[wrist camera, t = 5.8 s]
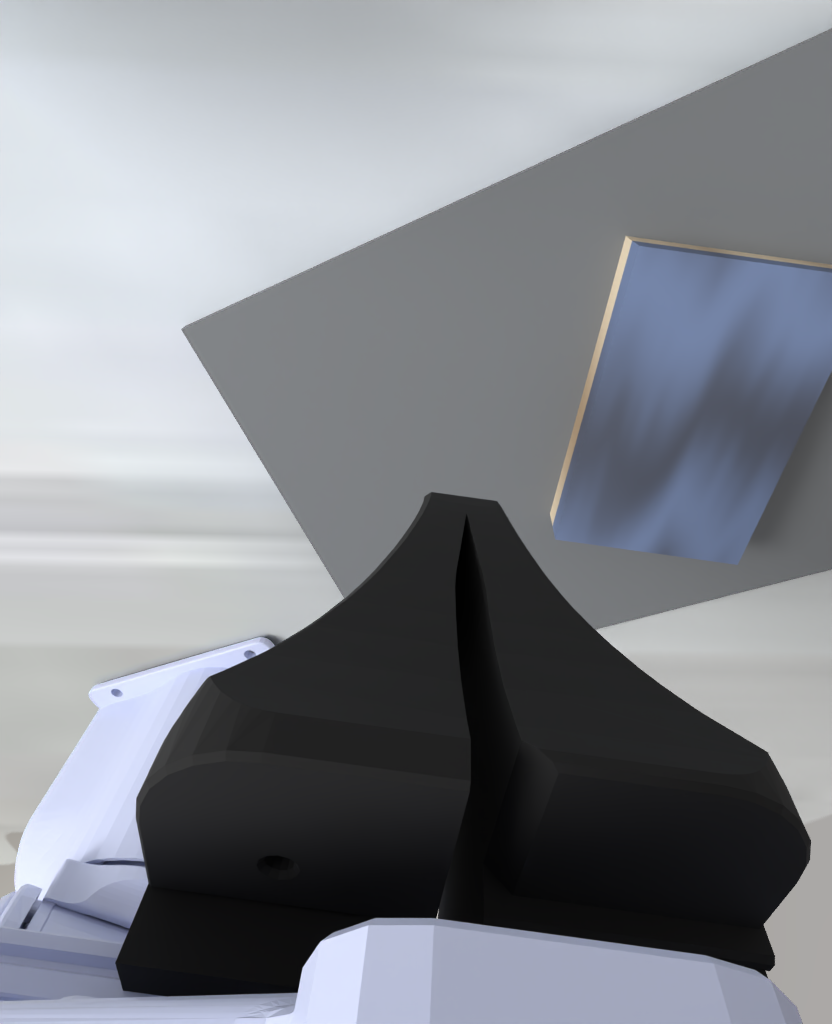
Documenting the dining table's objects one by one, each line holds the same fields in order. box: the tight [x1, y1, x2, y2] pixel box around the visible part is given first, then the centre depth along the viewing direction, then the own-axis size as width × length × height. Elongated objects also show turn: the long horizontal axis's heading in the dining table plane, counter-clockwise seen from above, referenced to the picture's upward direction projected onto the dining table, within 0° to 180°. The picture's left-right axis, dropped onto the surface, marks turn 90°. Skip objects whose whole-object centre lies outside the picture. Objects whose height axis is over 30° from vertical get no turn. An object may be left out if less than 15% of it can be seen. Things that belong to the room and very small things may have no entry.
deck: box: [550, 236, 832, 565], centre depth 19 cm, size 9×2×6 cm
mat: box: [181, 29, 832, 629], centre depth 21 cm, size 20×16×1 cm
